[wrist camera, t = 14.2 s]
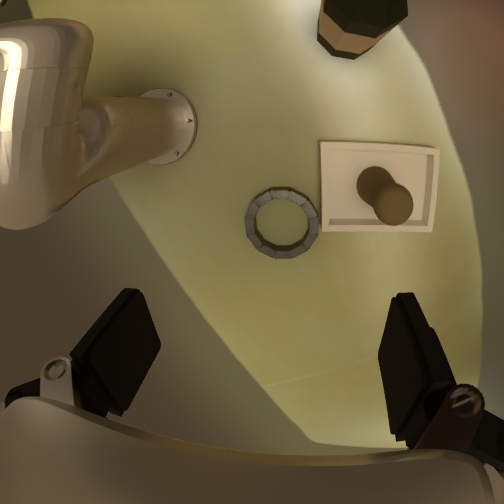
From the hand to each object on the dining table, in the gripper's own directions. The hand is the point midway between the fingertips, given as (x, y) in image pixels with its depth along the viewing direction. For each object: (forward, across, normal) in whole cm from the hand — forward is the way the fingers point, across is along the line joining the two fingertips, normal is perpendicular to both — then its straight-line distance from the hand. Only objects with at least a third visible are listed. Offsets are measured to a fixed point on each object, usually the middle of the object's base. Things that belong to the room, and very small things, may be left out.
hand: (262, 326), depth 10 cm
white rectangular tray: (+34, -13, +3) cm, 37 cm away
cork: (+34, -12, +3) cm, 36 cm away
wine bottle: (+34, -9, -20) cm, 41 cm away
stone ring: (+34, +2, +9) cm, 36 cm away
